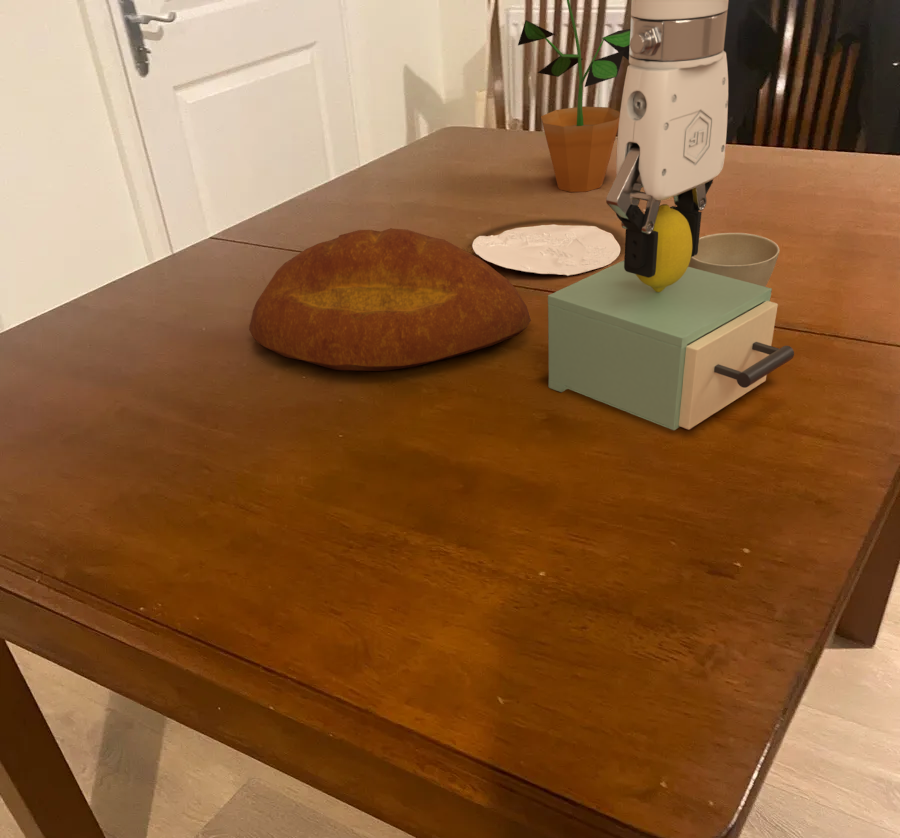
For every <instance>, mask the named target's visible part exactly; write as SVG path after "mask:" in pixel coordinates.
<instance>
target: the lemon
mask: <svg viewBox="0 0 900 838" xmlns="http://www.w3.org/2000/svg"><path fill="white" fill-rule="evenodd" d="M670 207H671V206H670V205H669V204H667V203H662V204H660V206H659V210H658V214H657V218H656V222H655V225H654V229H653V231H657V232H658V246H657V260H656V272H655V275H654V276H652V277H650V278H648V277H644V276H641V275H637V274H636V276H637V277H638V278H639V279H640V280H641V281H642V282H643V283H644V284H646V285H648V286H651V287H652V288H653V289H654V290H655V291H656V292H661V291H663V290H664V289H665V288H666V287H667V286H669V285H672V284H674V283H675V282H677V281H678V280H679V279H680V278H681V277H682V276H683V275H684V273H685V272H686V270H687V267H688V265H689V262H690V259H691V254H692V235H691V230H690V226H689V223H688V221H687V219H686V218H685V217H684V216H683V215H682V214H681V213H680V212H678V211H677V210H675V209H672V208H670Z"/></svg>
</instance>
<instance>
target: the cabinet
mask: <svg viewBox="0 0 900 838" xmlns="http://www.w3.org/2000/svg"><path fill="white" fill-rule="evenodd" d="M772 290H773V288H772V287H768V286H766V287H764V286H760V285H756V284H752V283H749V282H745V281H741V280H737V279H733V278H729V277H726V276H722V275H718V274H714V273H710V272H706V271H703V270H699V269H695V268H691V267H687V270H686V272H685V273H684V275H683V276H682V277H681V278H680V279H679V280H678V281H677V282H675V283H674V284H672V285H669V286H667V287H666V288H665V289H664V290H663V291H661V292H656V291H655V290H654V289H653V288H652V287H651V286H648V285H646V284H644V283H643V282H642V281H641V280H640V279H639V278H638V277H637V276H636V274H633V273H630V272H627V271H625V269H624V260H621V261H619V262H617V263H615V264H612V265H611V266H608V267H606V268H604V269H602V270H600V271H598V272H596V273H594V274H591V275H589V276H587V277H585V278H583V279H581V280H578V281H575V282H574V283H572V284H569V285H568V286H566V287H564V288H561V289H559V290H557V291H555V292H552V293H550V294H548V295H547V326H548V327H547V328H548V329H547V330H548V333H547V335H548V337H547V338H548V340H547V341H548V346H547V347H548V353H547V354H548V388H549V389H551V390H554V391H556V392H558V393H563V392H565V391H566V390H570V391H572V392H575V393H578V394H580V395H582V396H585V397H588V398H590V399H592V400H595V401H598V402H600V403H602V404H605V405H609V407H613V408H616V409H618V410H621V411H624V412H626V413H628V414H631V415H633V416H636V417H639V418H641V419H642V420H643V419H644V420H646V421H649V422H651V423H654V424H657V425H659V426H662V427H664V428H666V429H669V430H671V431H676V430H677V429H679V428H681V427H680V426H679V416H680V405H681V395H682V384H683V374H684V363H685V353H686V346H687V344H689V343H691V342H692V341H694V340H696V339H698V338H700V337H701V336H703V335H705V334H707V333H708V332H710V331H712V330H714V329H716V328H717V327H719V326H721V325H723V324H724V323H726V322H728V321H730V320H732V319H733V318H735V317H737V316H739V315H740V314H742V313H744V312H746V311H747V312H748V311H750V310H752V309H753V308H755V307H757V306H759V305H761V304H762V303H764V302H766V301H770V302H771V297H772V293H773V292H772Z"/></svg>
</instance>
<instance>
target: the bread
mask: <svg viewBox="0 0 900 838" xmlns="http://www.w3.org/2000/svg"><path fill="white" fill-rule="evenodd" d="M531 321H532V318H531V316H530V312H529V309H528V306H527V304H526V302H525V301H524V299H523V298H522V296H521V295H520V293H519V292H518V290H517V289H516V288H515V286H514V285H513V283H512V282H510V280H509V279H508V278H506V277H505V276H503V275H502V274H501V273H500V272H498V271H497V270H495V268H493V267H492V266H491V265H490V264H488V263H487V262H485V261H484V259H481V258H479V257H478V256H476V255H474V254H473V253H470V252H468V251H466V250H464V249H463V248H461V247H459V246H458V245H455V244H453V243H451V242H449V241H448V240H446V239H444V238H438V237H434V236H430V235H426V234H423V233H421V232H417V231H414V230H410V229H407V228H406V229H405V228H393V227H390V228H388V229H385V230H373V229H357V230H354V231H351V232H346V233H343V234H339V235H338V237H335V238H333V239H330V240H326V241H322V242H319V243H317V244H314V245H312V246H309V247H307V248H305V249H304V250H302V251H301V252H300V253H298V254H297V255H296V254H295V256H293V257H292V258H290V259H289V260H287V261H286V262H284V263H283V264H282V265H281V266H280V267H278V269H277V270H276V271H275V273H274V275H273V276H272V278H271V279H270V280H269V282H268V283H267V285H266V287H265V288H264V289H263V292H262V293H261V294H260V296H259V298H258V299H257V301H256V302H255V304H254V307H253V309H252V314H251V318H250V322H249V323H250V324H249V328H248V330H249V333H250V335H251V337H252V338H253V339H254V340H255V341H256V342H257V343H258V344H259V345H260V346H262V347H264V348H266V349H267V350H270V351H272V352H274V353H276V354H278V355H280V356H283V357H284V358H286V359H287V358H288V359H295V360H298V361H302V362H304V363H309V364H313V365H317V366H320V367H324V368H327V369H332V370H334V371H354V372H355V371H356V372H386V371H394V370H400V369H406V368H412V367H413V368H415V367H419V366H423V365H427V364H430V363H434V362H438V361H442V360H446V359H451V358H454V357H457V356H461V355H465V354H469V353H472V352H475V351H479V350H482V349H484V348H488V347H492V346H494V345H497V344H499V343H501V342H504V341H506V340H508V339H510V338H513V337H516V336H518V335H520V334H522V333H523V331H525V330H526V329H527V328H528V326H529V325H530V323H531Z"/></svg>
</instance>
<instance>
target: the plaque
mask: <svg viewBox="0 0 900 838" xmlns="http://www.w3.org/2000/svg"><path fill="white" fill-rule="evenodd" d="M472 249H473V251H474V253H475V254H476V255H477V256H479V257H480V259H481V258H482V260H483V261H484V260H485V261H487V262H489V263H492V264H493V265H496V266H499V267H502V268H505V269H509V270H510V269H511V270H515V271H521V272H525V273H534V274H540V275H558V276H559V275H563V276H567V277H569V276H573V275H578V274H579V275H580V274H582V273H586V272H591V271H592V270H596V269H600V268H603V267H605V266H608V265H610V264H612V263H613V262H615V261H616V260H617V258H618V257H619V255H620V253H621V246H620V244H619V242H618V241H617V240H616V238H615V236H614V235H613V233H611V232H609V231H606V230H604V229H601V228H599V227H597V226H595V225H577V224H576V225H568V224H567V225H566V224H555V223H553V224H541V225H534V226H523V227H515V228H512V229H511V228H510V229H507V230H503V232H501V233H498V234H495V235H494V234H491V235H488V236H486V235H479V236H477V237H476V238H475V239H473V241H472Z"/></svg>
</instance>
